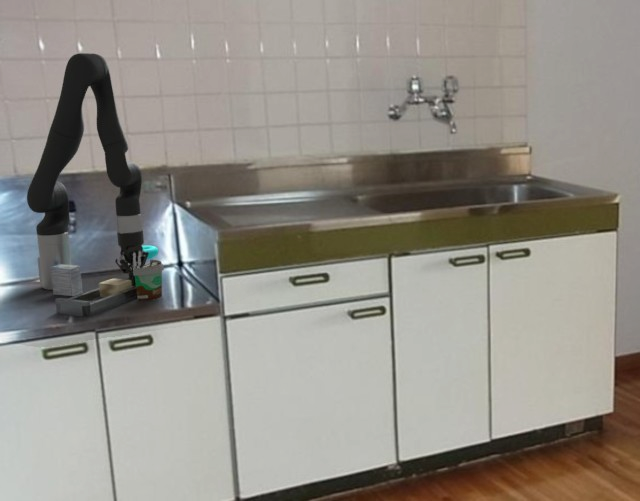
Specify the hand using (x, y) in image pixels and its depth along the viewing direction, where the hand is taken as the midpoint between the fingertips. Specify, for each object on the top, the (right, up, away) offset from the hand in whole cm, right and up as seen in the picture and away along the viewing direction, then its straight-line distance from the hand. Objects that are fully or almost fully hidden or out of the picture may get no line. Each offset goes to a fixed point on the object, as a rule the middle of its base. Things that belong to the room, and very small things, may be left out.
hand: (134, 285), depth 224 cm
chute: (-6, -5, -12) cm, 15 cm away
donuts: (-1, +2, +18) cm, 18 cm away
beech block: (-4, -2, -7) cm, 8 cm away
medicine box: (-20, -3, 0) cm, 20 cm away
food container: (+8, -3, -7) cm, 11 cm away
